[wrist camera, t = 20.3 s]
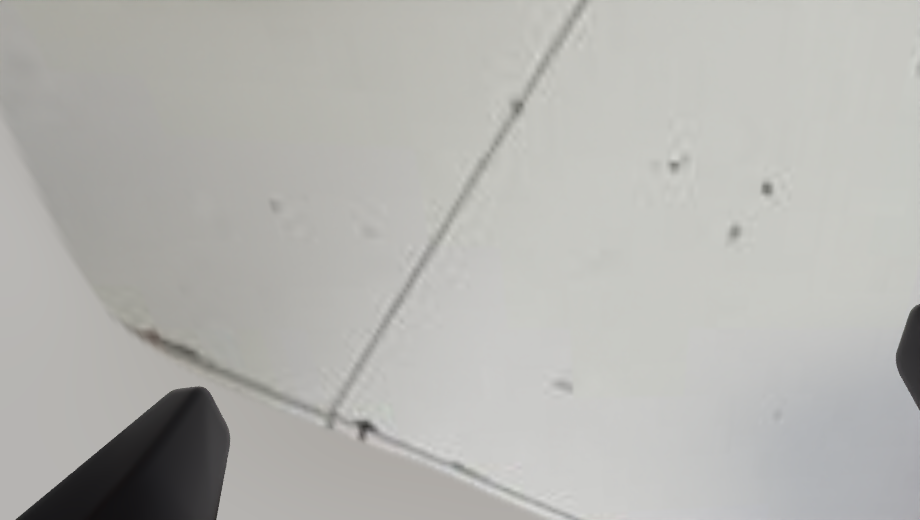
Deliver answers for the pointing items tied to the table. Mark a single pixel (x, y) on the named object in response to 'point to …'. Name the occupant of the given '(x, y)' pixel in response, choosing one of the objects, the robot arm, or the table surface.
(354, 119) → the table surface
